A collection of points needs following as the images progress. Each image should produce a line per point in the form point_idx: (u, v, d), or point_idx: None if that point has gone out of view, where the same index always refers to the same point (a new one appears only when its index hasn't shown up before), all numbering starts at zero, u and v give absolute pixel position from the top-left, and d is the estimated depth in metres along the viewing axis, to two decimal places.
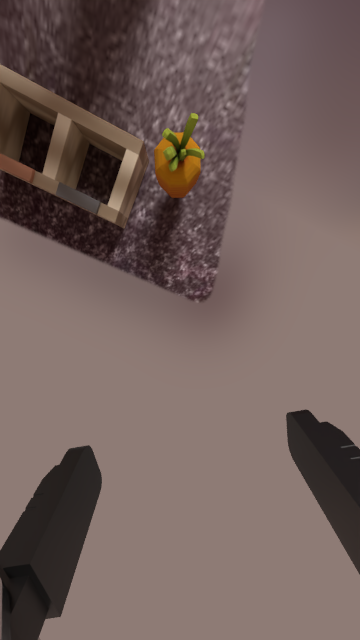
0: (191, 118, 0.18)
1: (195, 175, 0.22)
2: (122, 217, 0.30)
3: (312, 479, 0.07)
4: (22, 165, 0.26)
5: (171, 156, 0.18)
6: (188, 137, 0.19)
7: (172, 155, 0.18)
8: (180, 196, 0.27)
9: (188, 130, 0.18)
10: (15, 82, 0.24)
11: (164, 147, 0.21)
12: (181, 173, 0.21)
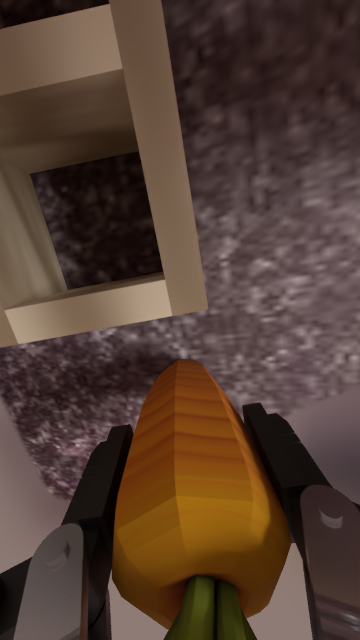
0: None
1: None
2: None
3: None
4: None
5: None
6: None
7: None
8: None
9: None
10: None
11: (198, 551, 0.05)
12: (161, 624, 0.05)
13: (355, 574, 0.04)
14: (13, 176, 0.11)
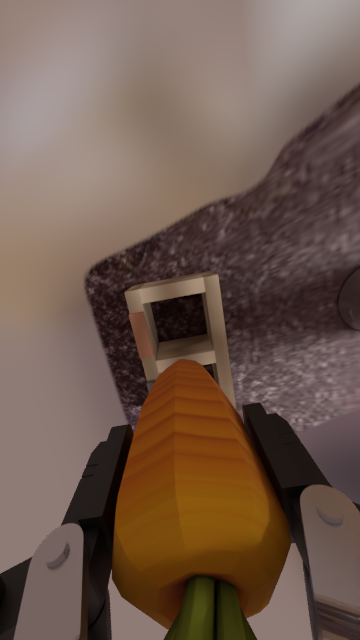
0: None
1: None
2: None
3: None
4: (149, 347, 0.24)
5: None
6: None
7: None
8: None
9: None
10: (214, 307, 0.23)
11: (198, 552, 0.05)
12: (161, 624, 0.05)
13: (355, 574, 0.04)
14: None
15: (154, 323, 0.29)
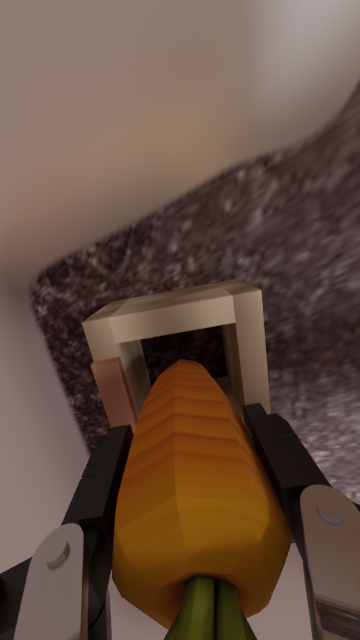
0: None
1: None
2: None
3: None
4: (131, 419, 0.13)
5: None
6: None
7: None
8: None
9: None
10: (250, 349, 0.12)
11: (198, 552, 0.05)
12: (161, 624, 0.05)
13: (355, 574, 0.04)
14: None
15: (144, 361, 0.18)
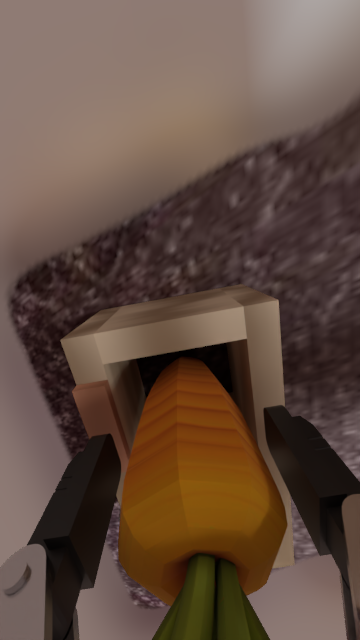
0: None
1: None
2: None
3: (284, 469, 0.08)
4: (122, 453, 0.11)
5: None
6: None
7: None
8: None
9: None
10: (264, 370, 0.10)
11: (199, 530, 0.05)
12: (165, 601, 0.06)
13: None
14: None
15: (139, 376, 0.16)
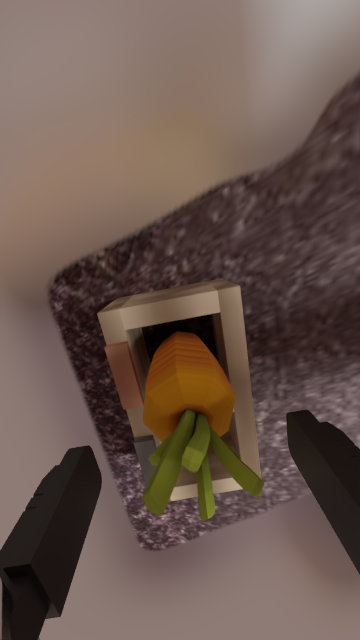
0: (248, 491, 0.07)
1: None
2: None
3: (312, 479, 0.07)
4: (137, 393, 0.16)
5: (153, 512, 0.07)
6: None
7: None
8: None
9: None
10: (233, 334, 0.15)
11: (187, 394, 0.10)
12: None
13: None
14: None
15: (146, 349, 0.21)
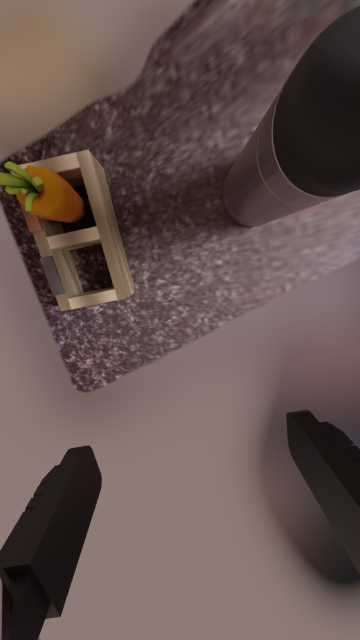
0: (32, 179, 0.19)
1: (43, 216, 0.23)
2: None
3: (312, 479, 0.07)
4: (37, 220, 0.27)
5: None
6: (35, 187, 0.20)
7: None
8: None
9: (32, 183, 0.19)
10: (89, 182, 0.27)
11: (30, 172, 0.21)
12: None
13: None
14: (66, 254, 0.32)
15: None
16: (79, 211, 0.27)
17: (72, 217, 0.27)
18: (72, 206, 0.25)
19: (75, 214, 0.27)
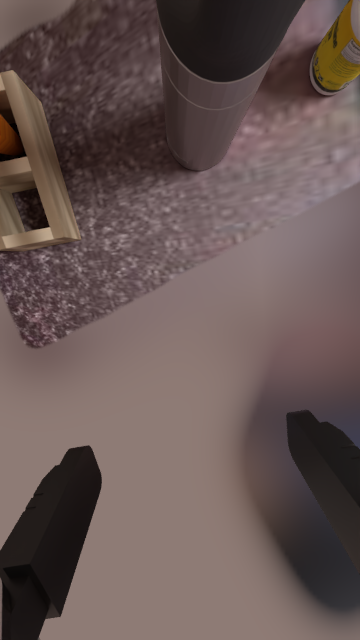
0: None
1: None
2: (16, 249, 0.32)
3: (312, 479, 0.07)
4: None
5: None
6: None
7: None
8: None
9: None
10: (16, 106, 0.26)
11: None
12: None
13: None
14: (5, 194, 0.31)
15: None
16: (6, 138, 0.26)
17: None
18: None
19: (1, 140, 0.26)
